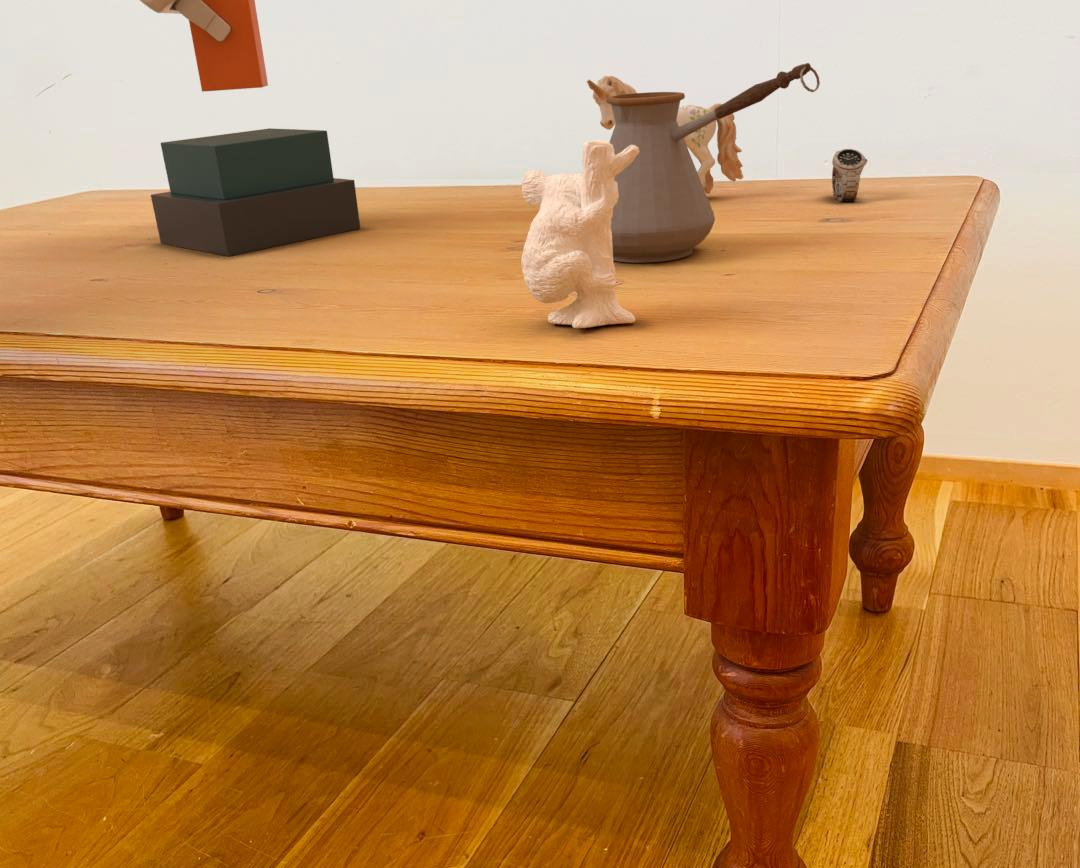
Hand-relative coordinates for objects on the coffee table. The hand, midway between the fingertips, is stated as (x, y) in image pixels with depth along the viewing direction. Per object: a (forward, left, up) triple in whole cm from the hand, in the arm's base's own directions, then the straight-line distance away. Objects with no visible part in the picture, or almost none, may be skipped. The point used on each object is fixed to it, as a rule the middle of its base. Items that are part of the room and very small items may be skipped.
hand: (232, 35), depth 106 cm
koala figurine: (+14, -53, -20) cm, 58 cm away
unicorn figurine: (+40, -14, -20) cm, 47 cm away
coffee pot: (+30, -39, -20) cm, 53 cm away
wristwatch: (+57, -22, -20) cm, 65 cm away
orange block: (-1, 0, -5) cm, 5 cm away
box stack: (-1, 0, -19) cm, 19 cm away
